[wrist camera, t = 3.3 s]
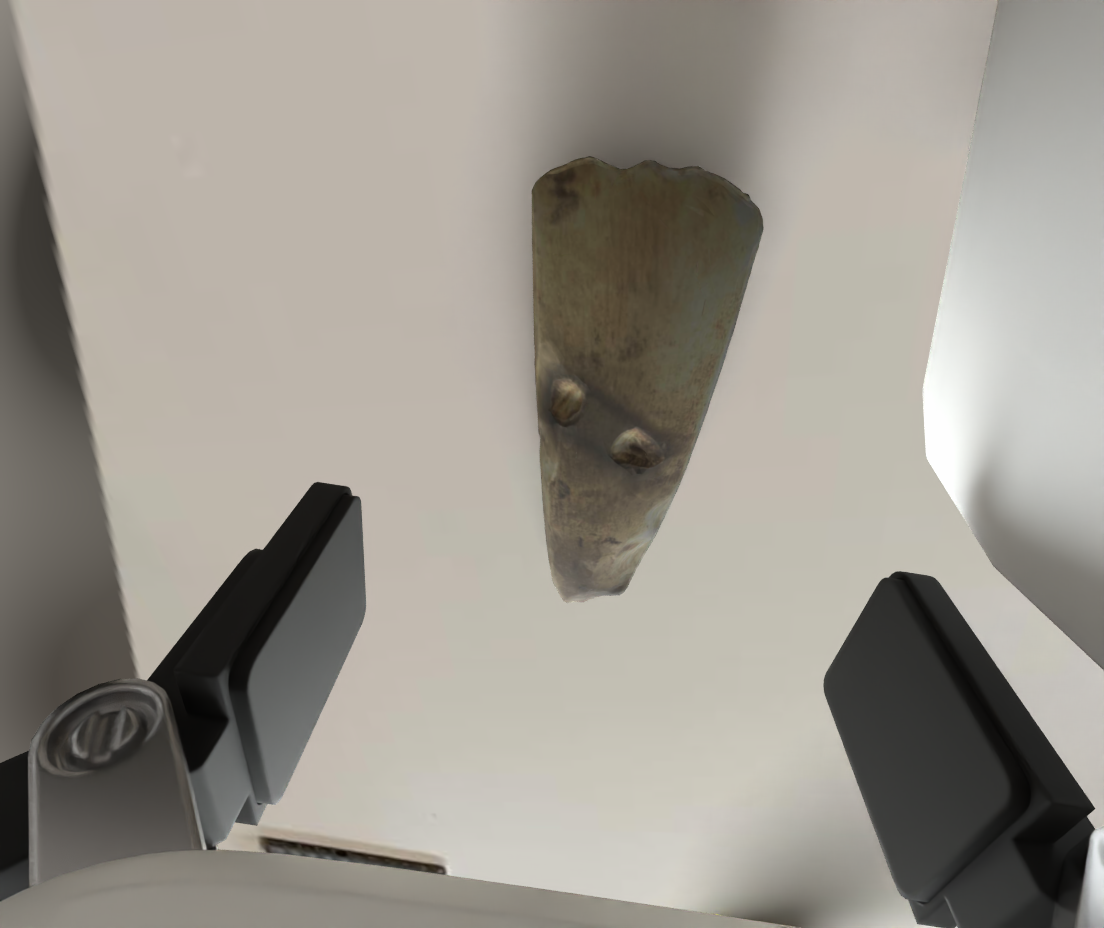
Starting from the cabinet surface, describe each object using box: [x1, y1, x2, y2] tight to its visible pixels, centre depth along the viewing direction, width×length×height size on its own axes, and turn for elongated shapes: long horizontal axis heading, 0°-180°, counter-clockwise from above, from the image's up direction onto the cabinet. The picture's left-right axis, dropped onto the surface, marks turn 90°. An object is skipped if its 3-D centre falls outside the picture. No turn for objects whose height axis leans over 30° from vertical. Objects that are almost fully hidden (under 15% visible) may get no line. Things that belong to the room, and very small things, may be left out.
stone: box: [532, 156, 763, 603], centre depth 16 cm, size 13×5×2 cm, turn 179°
